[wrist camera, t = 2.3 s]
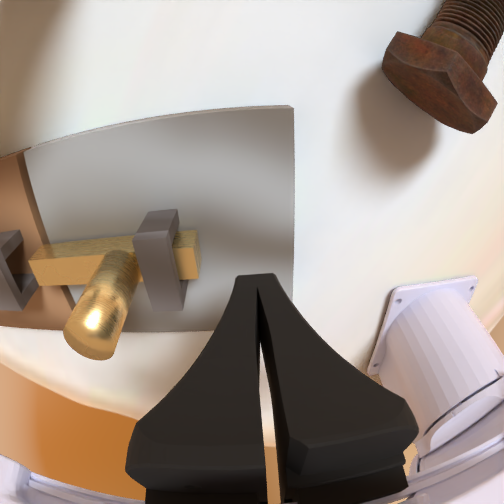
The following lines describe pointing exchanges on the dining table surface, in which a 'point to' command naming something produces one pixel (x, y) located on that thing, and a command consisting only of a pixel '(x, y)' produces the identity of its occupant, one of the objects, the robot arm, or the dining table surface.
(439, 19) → the bolt
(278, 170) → the latch plate
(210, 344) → the robot arm
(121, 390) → the dining table surface
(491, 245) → the dining table surface
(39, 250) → the slide bolt
